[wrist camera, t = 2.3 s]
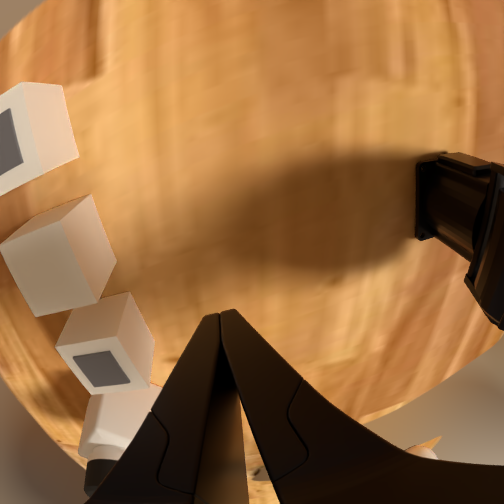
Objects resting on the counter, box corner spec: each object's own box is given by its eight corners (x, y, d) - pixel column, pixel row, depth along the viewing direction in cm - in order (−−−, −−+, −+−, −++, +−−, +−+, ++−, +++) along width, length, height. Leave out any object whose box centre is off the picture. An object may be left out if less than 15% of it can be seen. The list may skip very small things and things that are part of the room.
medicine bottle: (88, 398, 25) (69, 499, 14) (109, 362, 23) (85, 484, 13) (149, 422, 28) (146, 520, 17) (178, 392, 26) (181, 508, 15)
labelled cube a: (155, 340, 23) (149, 390, 18) (101, 350, 23) (88, 396, 18) (130, 290, 21) (115, 338, 16) (73, 304, 20) (51, 349, 16)
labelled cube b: (80, 157, 16) (42, 174, 11) (21, 183, 16) (-22, 208, 11) (62, 85, 14) (19, 81, 9) (3, 118, 13) (-43, 127, 9)
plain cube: (117, 260, 19) (97, 302, 15) (61, 276, 19) (35, 317, 15) (91, 193, 17) (60, 220, 13) (34, 215, 17) (-2, 246, 12)
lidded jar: (436, 433, 46) (454, 464, 38) (411, 457, 51) (425, 486, 42) (401, 445, 44) (419, 481, 36) (376, 469, 48) (390, 502, 40)
